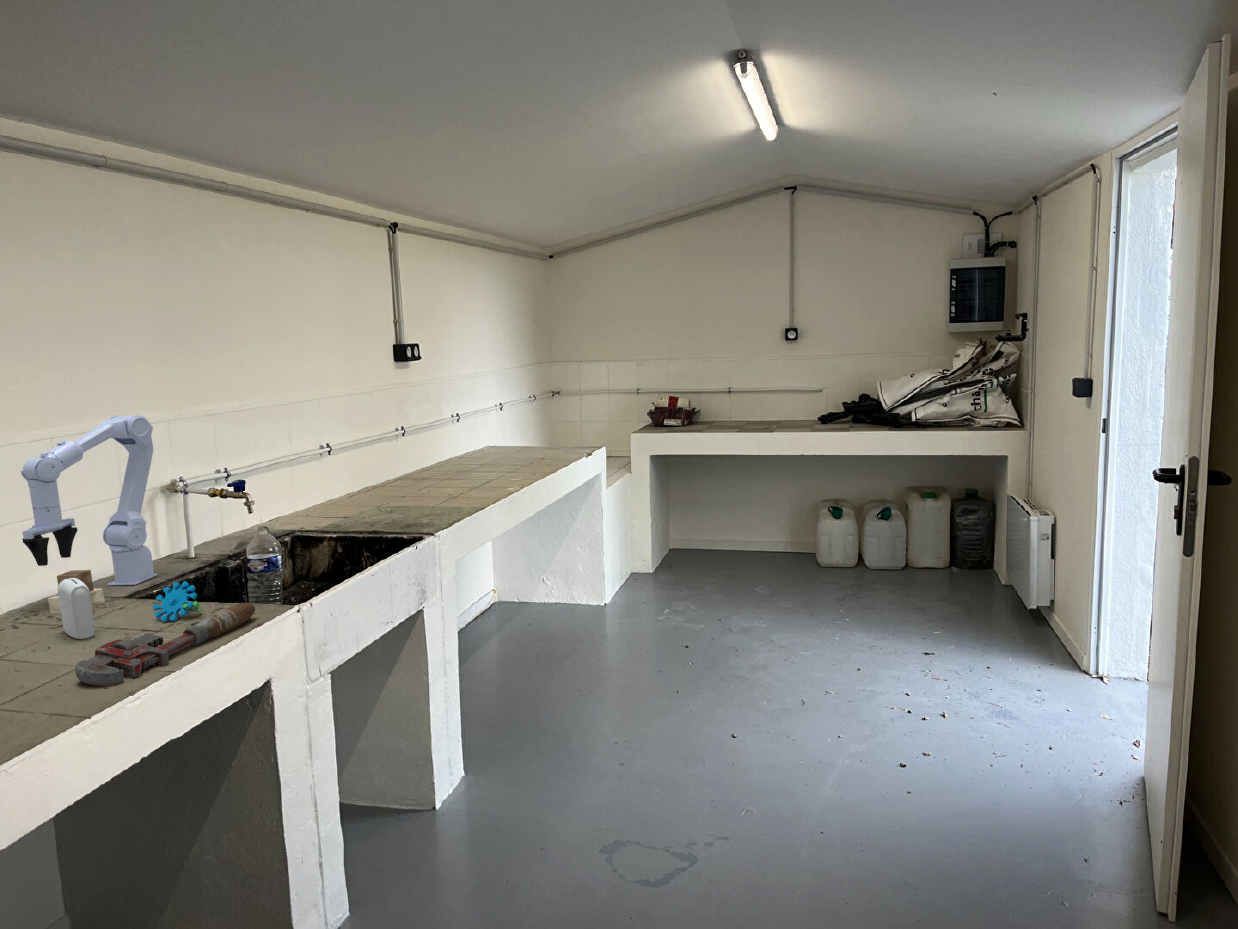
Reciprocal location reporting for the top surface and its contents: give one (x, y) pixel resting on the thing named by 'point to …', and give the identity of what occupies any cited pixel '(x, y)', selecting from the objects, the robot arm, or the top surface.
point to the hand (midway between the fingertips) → (54, 561)
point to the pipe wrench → (154, 648)
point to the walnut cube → (78, 577)
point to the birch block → (95, 597)
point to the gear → (176, 602)
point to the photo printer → (76, 608)
